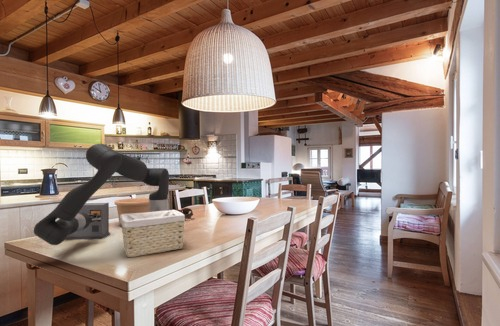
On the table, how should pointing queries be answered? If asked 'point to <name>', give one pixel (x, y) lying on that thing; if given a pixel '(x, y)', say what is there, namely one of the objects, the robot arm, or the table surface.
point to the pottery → (132, 206)
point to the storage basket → (152, 232)
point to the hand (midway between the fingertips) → (95, 215)
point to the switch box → (94, 223)
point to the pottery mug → (186, 212)
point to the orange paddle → (96, 212)
